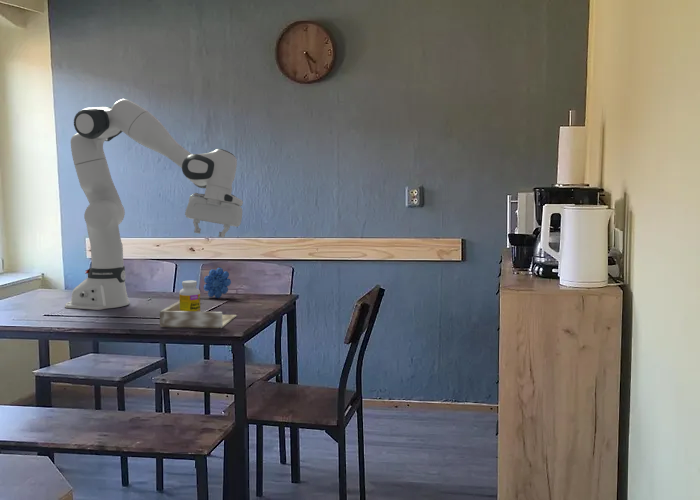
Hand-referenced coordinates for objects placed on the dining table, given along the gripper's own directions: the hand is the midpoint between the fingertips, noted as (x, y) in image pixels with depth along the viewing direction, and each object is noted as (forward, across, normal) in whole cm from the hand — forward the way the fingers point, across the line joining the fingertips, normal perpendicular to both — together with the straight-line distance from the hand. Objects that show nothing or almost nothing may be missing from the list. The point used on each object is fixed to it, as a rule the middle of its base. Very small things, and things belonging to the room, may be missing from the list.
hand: (209, 235), depth 250 cm
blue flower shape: (+21, -7, +32) cm, 39 cm away
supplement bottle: (+29, +5, -10) cm, 31 cm away
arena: (+29, +7, -8) cm, 31 cm away
